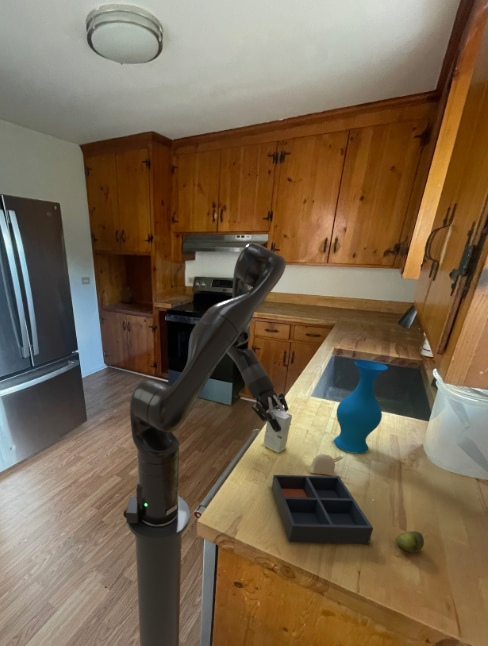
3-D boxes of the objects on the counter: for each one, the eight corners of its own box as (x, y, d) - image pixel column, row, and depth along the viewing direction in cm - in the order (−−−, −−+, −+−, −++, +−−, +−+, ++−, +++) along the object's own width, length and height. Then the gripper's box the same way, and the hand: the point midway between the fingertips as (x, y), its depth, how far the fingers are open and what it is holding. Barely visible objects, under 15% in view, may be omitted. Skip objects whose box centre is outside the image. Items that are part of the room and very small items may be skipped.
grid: (289, 542, 71) (292, 526, 69) (271, 488, 87) (273, 474, 85) (368, 544, 71) (373, 528, 69) (335, 490, 87) (339, 476, 85)
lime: (391, 547, 70) (397, 529, 68) (401, 536, 73) (407, 519, 71) (414, 562, 67) (421, 543, 65) (423, 550, 70) (430, 532, 68)
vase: (375, 460, 100) (400, 374, 89) (331, 451, 104) (350, 368, 93) (368, 440, 111) (390, 361, 100) (328, 433, 114) (345, 356, 104)
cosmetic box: (262, 445, 106) (267, 411, 101) (270, 440, 109) (275, 407, 104) (279, 453, 102) (285, 419, 97) (286, 448, 105) (292, 414, 100)
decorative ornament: (308, 464, 97) (311, 449, 95) (338, 469, 95) (342, 454, 93) (309, 473, 93) (313, 457, 91) (341, 478, 92) (345, 462, 90)
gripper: (249, 379, 98) (277, 431, 94) (278, 370, 106) (305, 417, 102) (234, 390, 103) (260, 439, 99) (263, 380, 112) (288, 426, 108)
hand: (283, 428), depth 101 cm, fingers closed on cosmetic box, 4 cm apart
